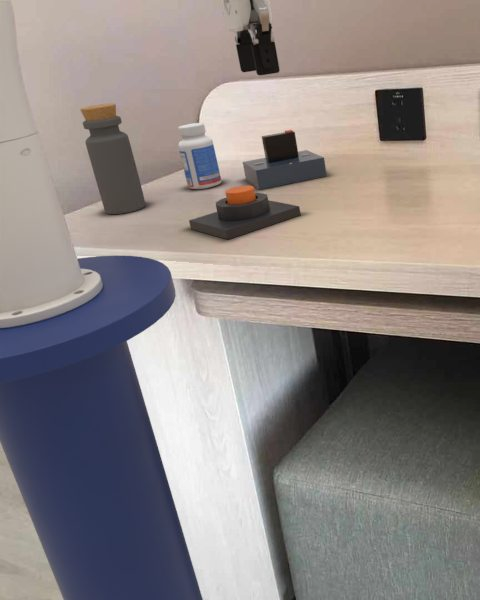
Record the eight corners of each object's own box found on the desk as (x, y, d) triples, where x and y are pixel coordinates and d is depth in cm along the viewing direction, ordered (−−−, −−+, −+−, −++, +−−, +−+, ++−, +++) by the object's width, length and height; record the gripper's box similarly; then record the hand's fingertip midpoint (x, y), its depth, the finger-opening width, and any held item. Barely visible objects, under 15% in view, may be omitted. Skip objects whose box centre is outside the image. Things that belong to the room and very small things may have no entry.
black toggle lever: (268, 162, 107) (263, 135, 105) (266, 161, 108) (261, 134, 107) (298, 157, 109) (294, 130, 107) (296, 155, 110) (291, 129, 108)
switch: (237, 208, 84) (235, 194, 84) (222, 204, 87) (219, 191, 86) (261, 200, 87) (259, 187, 86) (246, 197, 89) (243, 184, 88)
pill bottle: (227, 180, 113) (215, 120, 109) (213, 189, 108) (199, 126, 104) (197, 182, 114) (183, 123, 110) (182, 190, 109) (167, 129, 105)
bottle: (96, 215, 100) (66, 110, 94) (121, 203, 105) (94, 104, 99) (130, 214, 98) (101, 107, 92) (154, 202, 103) (128, 101, 97)
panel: (259, 189, 104) (255, 169, 103) (245, 179, 112) (242, 160, 111) (327, 176, 108) (324, 156, 107) (309, 167, 116) (306, 148, 114)
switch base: (228, 239, 81) (222, 215, 80) (190, 229, 87) (185, 206, 86) (301, 215, 88) (297, 192, 87) (261, 206, 94) (257, 185, 93)
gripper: (197, -50, 98) (222, 73, 105) (220, -65, 84) (248, 79, 91) (247, -55, 101) (269, 66, 108) (279, -70, 86) (302, 71, 93)
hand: (259, 72), depth 99 cm, fingers open, 9 cm apart
